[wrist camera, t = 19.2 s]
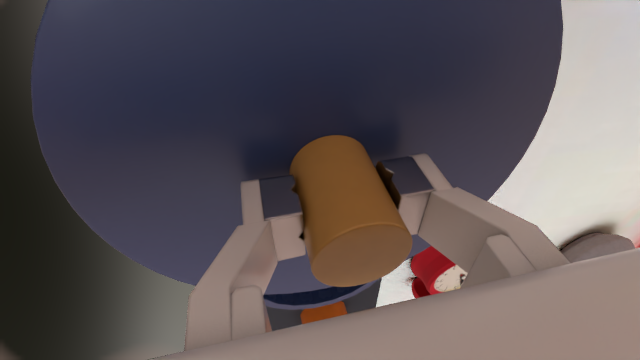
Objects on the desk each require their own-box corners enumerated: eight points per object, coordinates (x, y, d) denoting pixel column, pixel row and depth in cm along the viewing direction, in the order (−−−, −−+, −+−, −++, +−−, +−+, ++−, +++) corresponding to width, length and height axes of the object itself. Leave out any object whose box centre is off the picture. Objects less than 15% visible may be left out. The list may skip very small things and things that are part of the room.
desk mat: (252, 283, 37) (253, 286, 37) (384, 254, 40) (386, 257, 40) (272, 351, 51) (272, 354, 51) (370, 326, 53) (371, 329, 53)
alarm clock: (518, 234, 37) (495, 320, 44) (482, 204, 42) (467, 286, 50) (433, 254, 35) (424, 340, 43) (407, 221, 41) (403, 302, 48)
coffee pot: (557, 237, 48) (657, 340, 37) (628, 215, 49) (747, 310, 38) (520, 302, 63) (583, 389, 52) (575, 284, 63) (649, 367, 53)
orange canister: (298, 305, 42) (310, 366, 37) (346, 294, 43) (364, 351, 38) (301, 327, 47) (312, 384, 41) (344, 316, 48) (360, 371, 42)
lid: (-161, -178, 5) (-910, -286, 2) (646, -172, 7) (1001, -214, 4) (164, 298, 15) (149, 416, 12) (459, 239, 18) (515, 324, 14)
